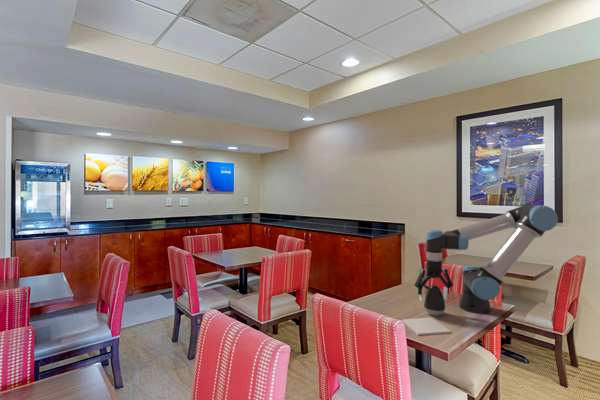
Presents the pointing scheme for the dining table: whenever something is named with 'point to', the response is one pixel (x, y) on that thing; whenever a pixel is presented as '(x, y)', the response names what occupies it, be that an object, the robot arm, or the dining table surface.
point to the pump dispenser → (434, 301)
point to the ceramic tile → (425, 326)
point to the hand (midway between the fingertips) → (433, 300)
